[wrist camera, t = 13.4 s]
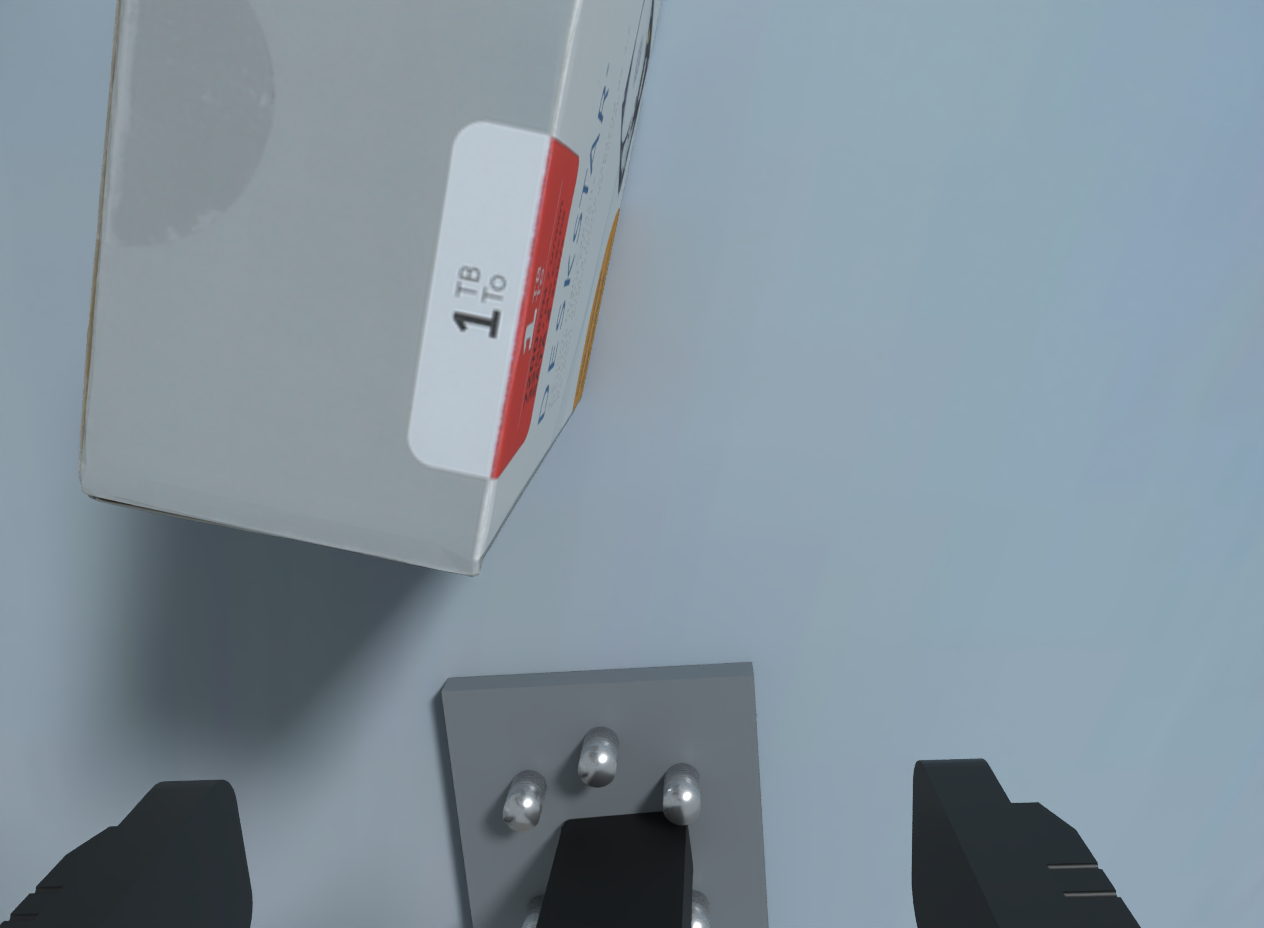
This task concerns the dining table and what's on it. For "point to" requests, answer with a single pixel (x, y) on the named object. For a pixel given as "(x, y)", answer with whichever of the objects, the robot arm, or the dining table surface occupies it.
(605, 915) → the ink cartridge
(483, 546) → the hard drive box
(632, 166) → the dining table surface
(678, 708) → the pin tray
